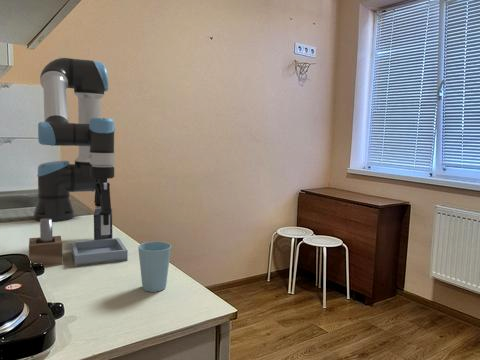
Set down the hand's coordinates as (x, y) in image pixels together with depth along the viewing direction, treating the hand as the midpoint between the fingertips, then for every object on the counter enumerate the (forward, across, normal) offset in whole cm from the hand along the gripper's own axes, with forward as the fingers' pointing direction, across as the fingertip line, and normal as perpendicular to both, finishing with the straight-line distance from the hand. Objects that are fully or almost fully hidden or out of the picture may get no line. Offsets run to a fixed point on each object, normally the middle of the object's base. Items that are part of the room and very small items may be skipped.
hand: (102, 229), depth 128 cm
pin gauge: (+4, +14, -17) cm, 22 cm away
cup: (+5, +43, +6) cm, 43 cm away
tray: (+4, +14, -3) cm, 15 cm away
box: (+4, 0, 0) cm, 5 cm away
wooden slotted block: (+4, +14, -17) cm, 22 cm away
